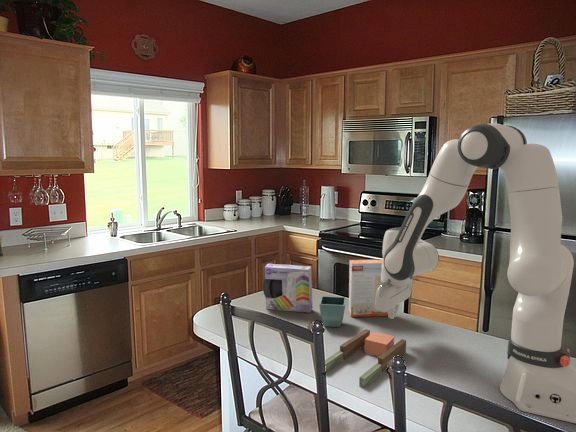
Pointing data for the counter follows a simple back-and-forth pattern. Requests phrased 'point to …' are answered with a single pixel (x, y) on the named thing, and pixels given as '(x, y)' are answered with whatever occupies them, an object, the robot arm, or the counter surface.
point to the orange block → (378, 343)
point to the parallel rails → (358, 343)
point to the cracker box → (364, 287)
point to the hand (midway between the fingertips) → (392, 317)
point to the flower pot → (332, 310)
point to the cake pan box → (288, 287)
